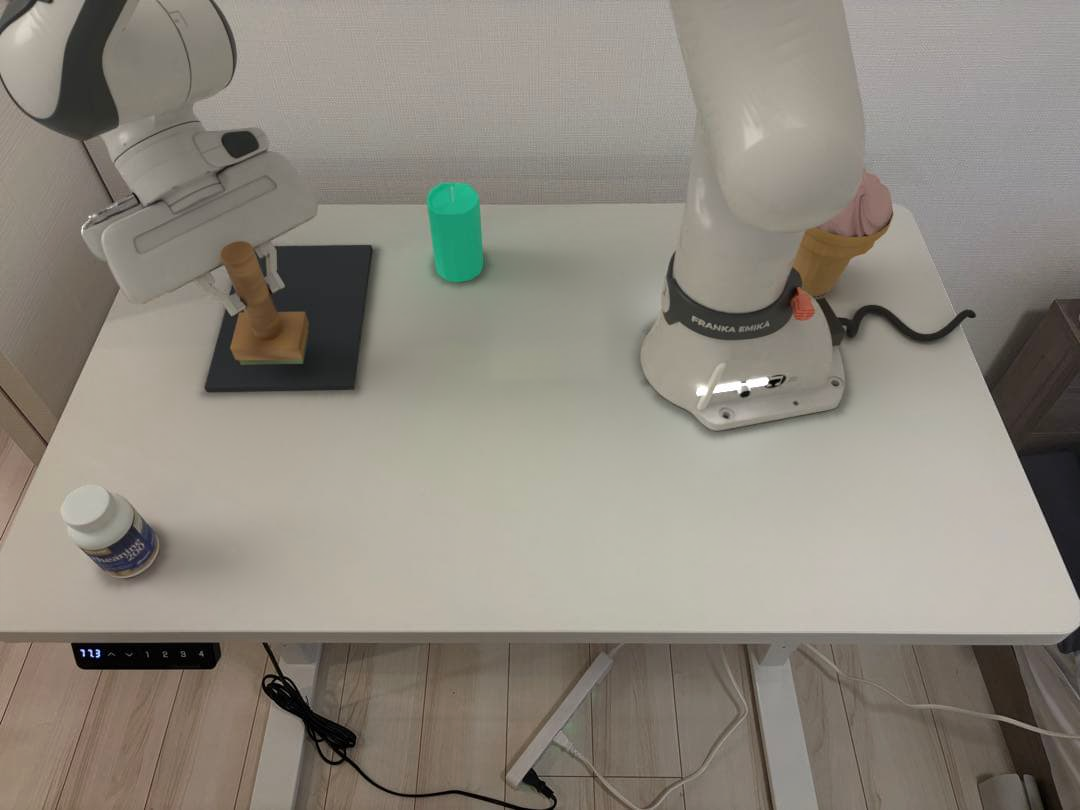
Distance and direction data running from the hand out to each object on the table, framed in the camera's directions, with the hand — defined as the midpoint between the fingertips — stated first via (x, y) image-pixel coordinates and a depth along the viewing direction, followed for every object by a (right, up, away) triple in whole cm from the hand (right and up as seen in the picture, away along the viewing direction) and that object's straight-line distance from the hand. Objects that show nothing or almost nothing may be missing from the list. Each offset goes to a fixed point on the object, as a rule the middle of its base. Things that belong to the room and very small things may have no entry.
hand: (259, 301), depth 79 cm
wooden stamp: (-1, -4, +7) cm, 8 cm away
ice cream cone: (+61, +4, +18) cm, 64 cm away
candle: (+18, +7, +19) cm, 27 cm away
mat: (-1, 0, +14) cm, 14 cm away
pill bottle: (-11, -25, -3) cm, 27 cm away
